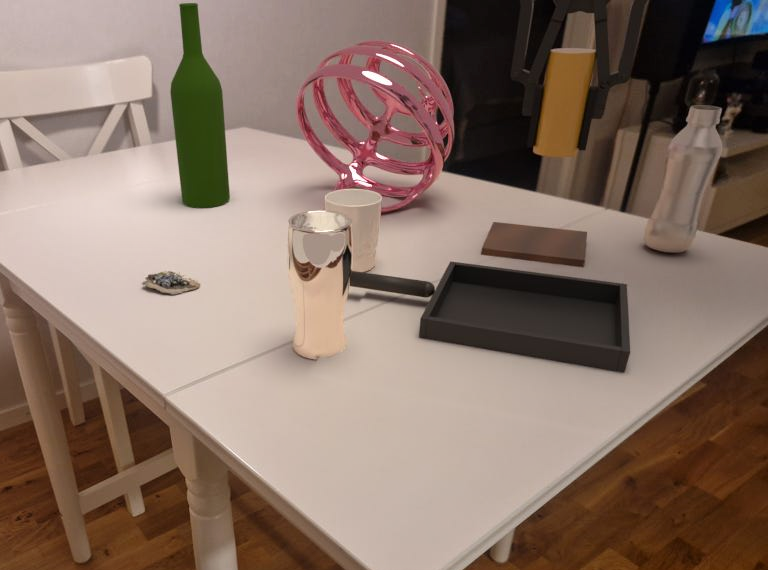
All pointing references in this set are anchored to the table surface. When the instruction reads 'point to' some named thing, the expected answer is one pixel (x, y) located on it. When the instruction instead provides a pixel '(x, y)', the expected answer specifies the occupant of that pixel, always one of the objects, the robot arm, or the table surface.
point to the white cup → (359, 222)
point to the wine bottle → (198, 121)
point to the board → (536, 244)
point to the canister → (564, 101)
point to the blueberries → (170, 282)
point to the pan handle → (392, 284)
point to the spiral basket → (380, 126)
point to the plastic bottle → (685, 181)
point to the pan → (531, 315)
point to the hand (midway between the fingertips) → (556, 145)
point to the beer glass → (319, 279)
